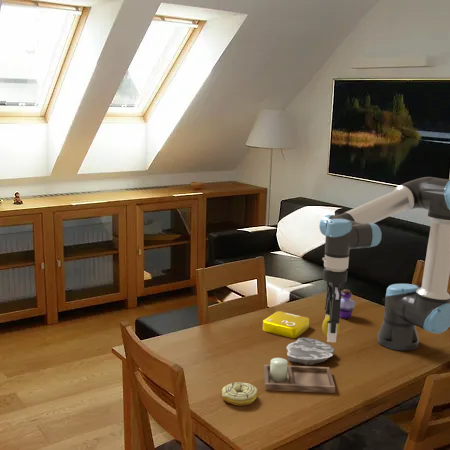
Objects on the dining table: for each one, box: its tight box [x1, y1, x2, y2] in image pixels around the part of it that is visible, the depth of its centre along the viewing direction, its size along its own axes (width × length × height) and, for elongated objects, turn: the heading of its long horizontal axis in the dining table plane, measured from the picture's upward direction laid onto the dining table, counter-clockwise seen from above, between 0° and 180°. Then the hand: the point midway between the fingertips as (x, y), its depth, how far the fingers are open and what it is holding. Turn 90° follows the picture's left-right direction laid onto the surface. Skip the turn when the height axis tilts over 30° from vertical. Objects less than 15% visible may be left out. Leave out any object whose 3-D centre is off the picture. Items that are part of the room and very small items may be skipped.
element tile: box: [262, 310, 310, 339], centre depth 234 cm, size 15×15×5 cm
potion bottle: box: [339, 288, 356, 320], centre depth 247 cm, size 9×9×12 cm
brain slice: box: [285, 337, 336, 366], centre depth 209 cm, size 20×17×3 cm
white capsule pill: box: [269, 357, 289, 383], centre depth 189 cm, size 6×6×6 cm
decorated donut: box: [221, 381, 258, 406], centre depth 178 cm, size 10×11×4 cm
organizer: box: [263, 364, 336, 394], centre depth 190 cm, size 22×14×2 cm, turn 88°
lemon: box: [321, 316, 341, 337], centre depth 186 cm, size 6×6×8 cm
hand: (329, 337), depth 186 cm, fingers closed on lemon, 5 cm apart
